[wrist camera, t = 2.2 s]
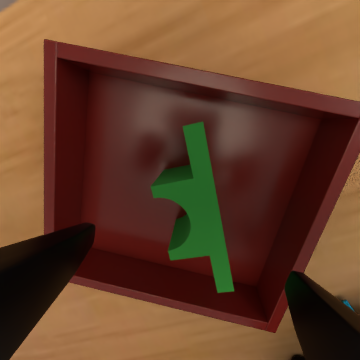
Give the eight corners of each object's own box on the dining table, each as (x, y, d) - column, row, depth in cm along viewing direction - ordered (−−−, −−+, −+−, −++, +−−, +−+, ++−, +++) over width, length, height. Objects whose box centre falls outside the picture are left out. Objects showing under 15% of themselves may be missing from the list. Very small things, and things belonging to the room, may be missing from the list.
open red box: (333, 110, 14) (381, 105, 10) (260, 291, 19) (275, 333, 15) (82, 60, 15) (43, 38, 11) (73, 247, 19) (43, 276, 16)
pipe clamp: (154, 132, 15) (136, 135, 11) (202, 122, 15) (203, 120, 10) (184, 256, 18) (180, 298, 14) (226, 250, 17) (234, 292, 13)
